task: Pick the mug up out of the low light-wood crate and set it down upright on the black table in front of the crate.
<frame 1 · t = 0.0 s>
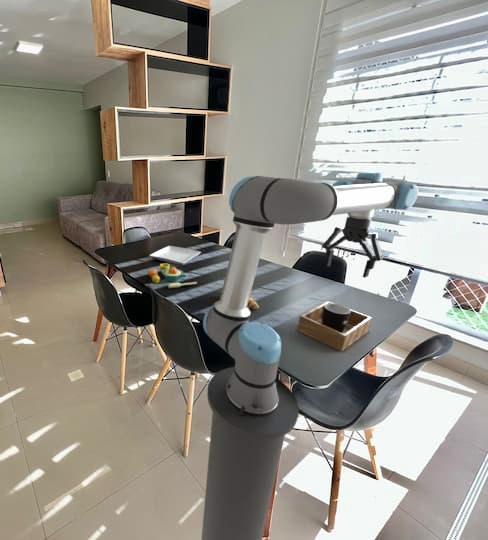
hand: (345, 271, 112), 25 cm above the table, tool pointing down, fingers open, 13 cm apart
crate: (332, 331, 117), on the table
croissant: (237, 303, 140), on the table
square plate: (175, 258, 203), on the table
mug: (332, 329, 117), point 1 cm above the table, touching crate
toy juicer set: (168, 281, 166), on the table
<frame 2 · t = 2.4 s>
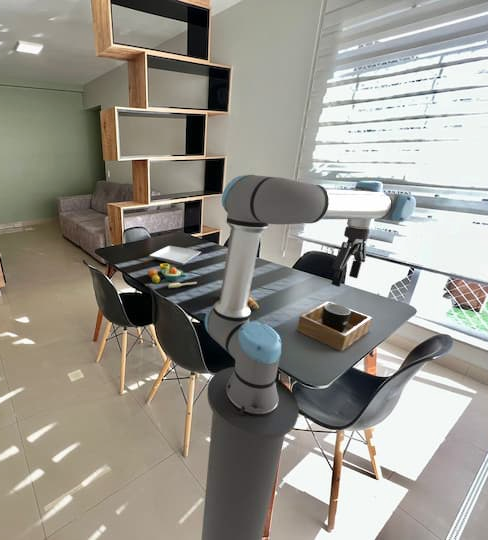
hand: (344, 281, 110), 22 cm above the table, tool pointing down, fingers open, 13 cm apart
nothing on the table moved.
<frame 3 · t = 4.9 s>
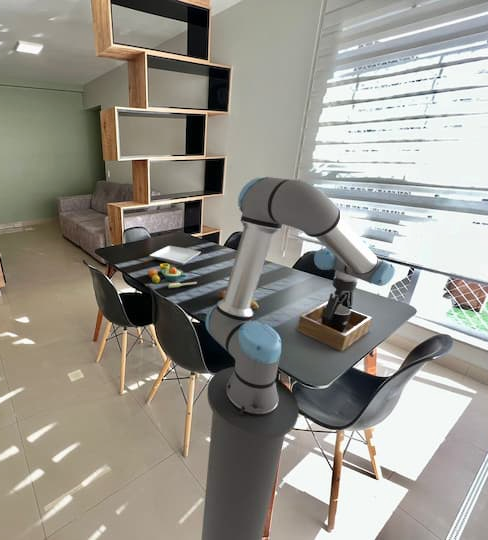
hand: (333, 327, 117), 2 cm above the table, tool pointing down, fingers closed on mug, 12 cm apart
mug: (332, 329, 117), point 1 cm above the table, touching crate, gripper
everything else where it was.
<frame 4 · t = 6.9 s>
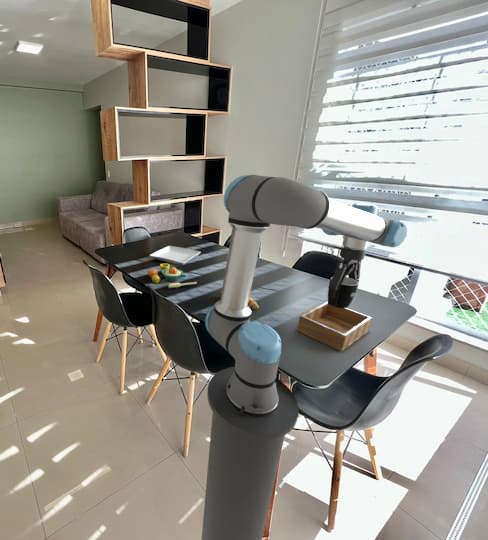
hand: (339, 300, 112), 14 cm above the table, tool pointing down, fingers closed on mug, 12 cm apart
mug: (338, 303, 112), point 13 cm above the table, touching gripper
everything else where it was.
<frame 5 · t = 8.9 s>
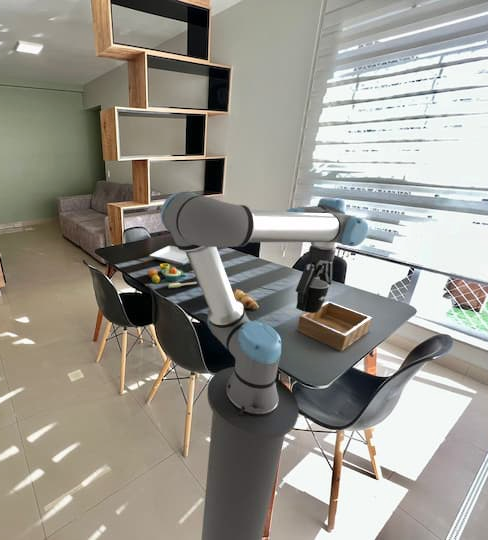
hand: (310, 304, 102), 17 cm above the table, tool pointing down, fingers closed on mug, 12 cm apart
mug: (309, 307, 103), point 16 cm above the table, touching gripper
everything else where it was.
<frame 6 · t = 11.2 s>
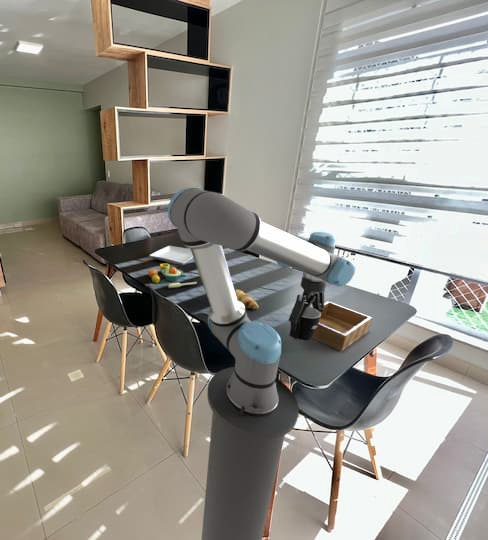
hand: (303, 331, 106), 6 cm above the table, tool pointing down, fingers closed on mug, 12 cm apart
mug: (302, 334, 107), point 5 cm above the table, touching gripper
everything else where it was.
when the fingers open (1 cm above the table, at t = 13.2 s): mug stays where it is, on the table.
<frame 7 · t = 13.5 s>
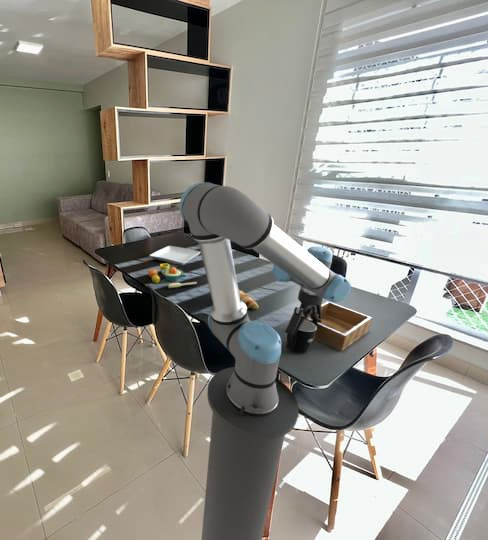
hand: (300, 342, 108), 2 cm above the table, tool pointing down, fingers open, 13 cm apart
mug: (298, 346, 108), on the table, touching gripper
everything else where it was.
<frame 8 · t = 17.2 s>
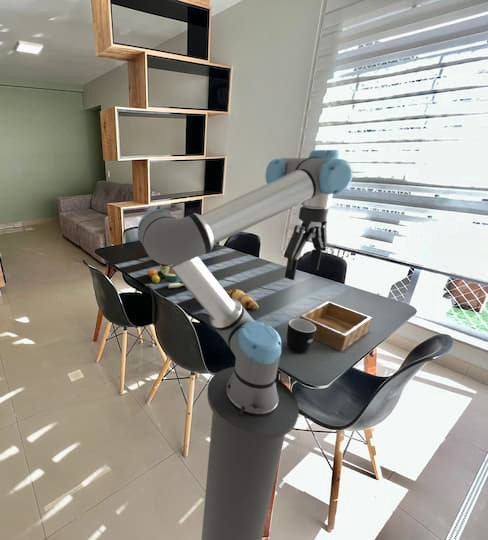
hand: (301, 273, 92), 32 cm above the table, tool pointing down, fingers open, 13 cm apart
mug: (298, 347, 108), on the table
everything else where it was.
at the end: mug inside the target area (0.8 cm from its centre), on the table; mug touching table; mug tilted 0° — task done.
